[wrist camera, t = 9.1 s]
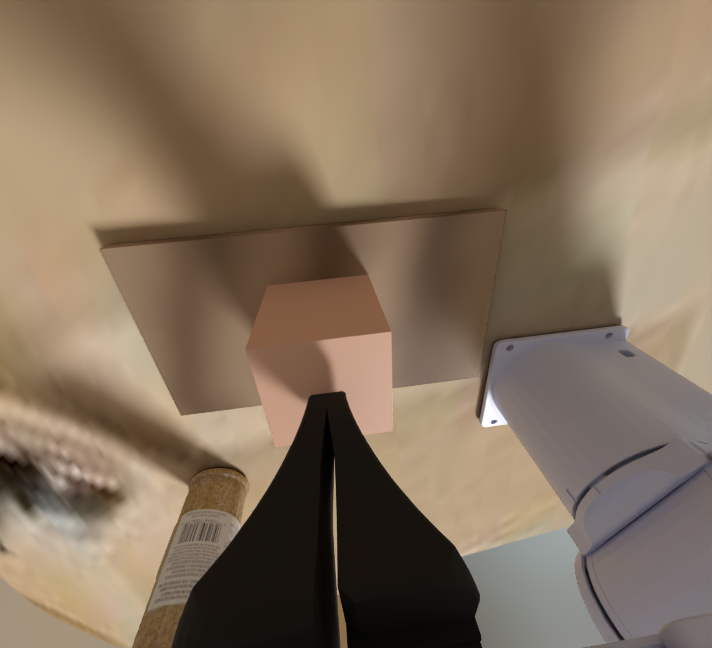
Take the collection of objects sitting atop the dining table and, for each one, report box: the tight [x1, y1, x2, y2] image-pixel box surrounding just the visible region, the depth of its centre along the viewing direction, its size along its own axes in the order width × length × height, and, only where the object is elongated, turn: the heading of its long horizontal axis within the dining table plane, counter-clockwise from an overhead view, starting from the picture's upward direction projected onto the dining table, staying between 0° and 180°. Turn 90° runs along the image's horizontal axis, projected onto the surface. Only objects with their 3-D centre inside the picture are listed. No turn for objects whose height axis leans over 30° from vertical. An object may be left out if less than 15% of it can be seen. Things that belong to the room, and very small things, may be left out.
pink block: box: [245, 275, 393, 448], centre depth 15 cm, size 5×5×6 cm
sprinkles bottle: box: [132, 468, 249, 648], centre depth 19 cm, size 5×5×13 cm
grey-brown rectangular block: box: [99, 208, 507, 416], centre depth 16 cm, size 20×11×6 cm, turn 94°
